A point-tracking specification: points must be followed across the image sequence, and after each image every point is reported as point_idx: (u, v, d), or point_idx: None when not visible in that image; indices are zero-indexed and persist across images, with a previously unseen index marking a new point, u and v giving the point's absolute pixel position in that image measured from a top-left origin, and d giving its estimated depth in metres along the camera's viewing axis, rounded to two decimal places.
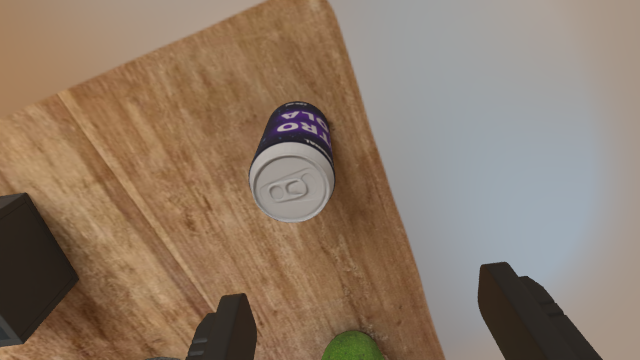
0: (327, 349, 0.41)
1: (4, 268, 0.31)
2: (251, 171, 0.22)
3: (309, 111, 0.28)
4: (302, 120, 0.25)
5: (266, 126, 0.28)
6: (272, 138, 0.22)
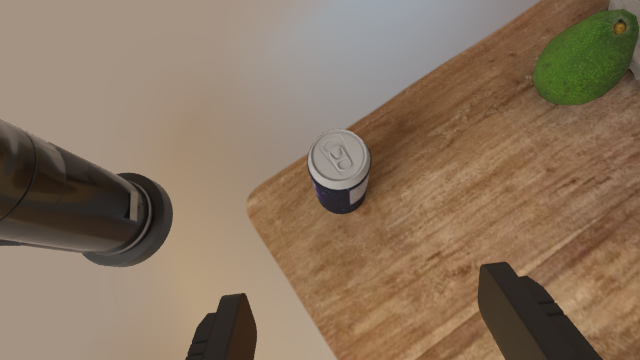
0: (562, 102, 0.38)
1: None
2: (336, 187, 0.29)
3: None
4: None
5: (333, 207, 0.36)
6: (315, 183, 0.31)
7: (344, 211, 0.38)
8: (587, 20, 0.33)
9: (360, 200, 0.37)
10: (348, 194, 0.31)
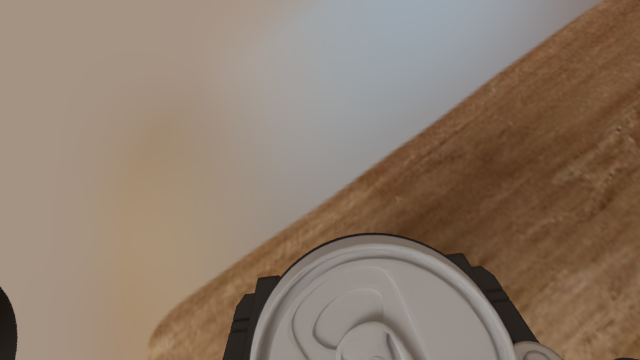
0: None
1: None
2: None
3: None
4: None
5: None
6: None
7: None
8: None
9: None
10: None
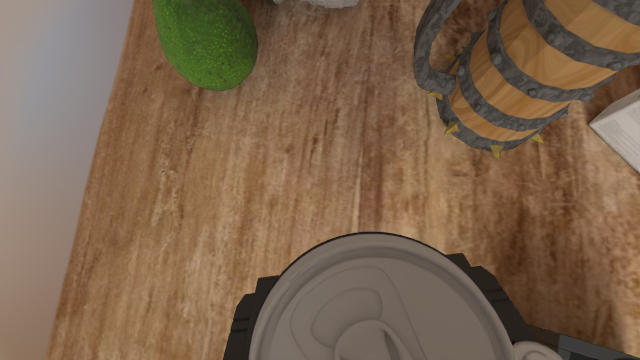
0: (233, 84, 0.30)
1: None
2: None
3: None
4: None
5: None
6: None
7: None
8: None
9: None
10: None
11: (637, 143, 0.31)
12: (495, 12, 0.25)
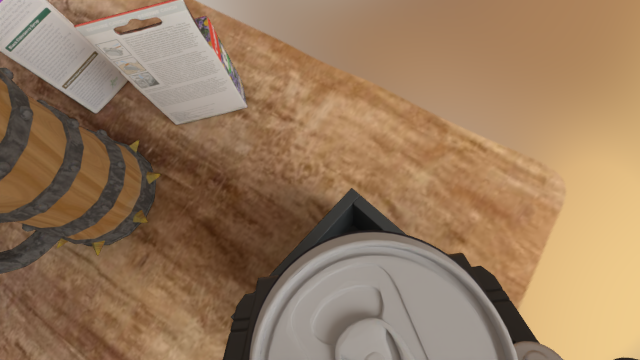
0: None
1: None
2: None
3: None
4: None
5: None
6: None
7: None
8: None
9: None
10: None
11: (198, 107, 0.34)
12: None
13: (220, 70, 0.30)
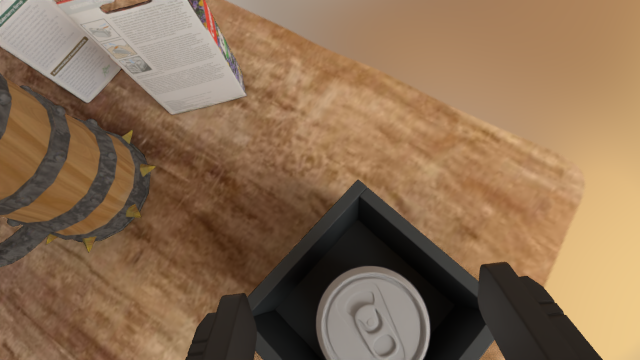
0: None
1: None
2: None
3: None
4: None
5: None
6: None
7: None
8: None
9: None
10: None
11: (194, 95, 0.32)
12: None
13: (216, 55, 0.28)
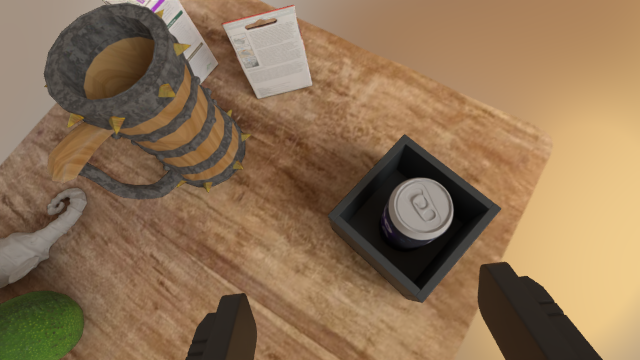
0: (79, 328, 0.38)
1: (379, 267, 0.34)
2: (421, 238, 0.29)
3: None
4: (383, 219, 0.35)
5: (402, 248, 0.36)
6: (395, 231, 0.31)
7: (411, 250, 0.38)
8: None
9: None
10: (428, 241, 0.31)
11: (278, 84, 0.46)
12: (133, 140, 0.36)
13: (302, 56, 0.41)
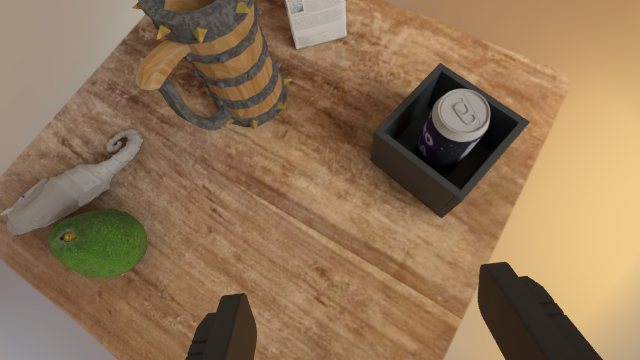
0: (145, 243, 0.42)
1: (420, 179, 0.38)
2: (462, 139, 0.33)
3: (417, 143, 0.42)
4: (422, 136, 0.39)
5: (437, 166, 0.40)
6: (437, 139, 0.35)
7: (445, 171, 0.42)
8: (62, 261, 0.34)
9: (462, 159, 0.40)
10: (466, 148, 0.35)
11: (317, 33, 0.50)
12: (195, 71, 0.40)
13: (342, 2, 0.46)
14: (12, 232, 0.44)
